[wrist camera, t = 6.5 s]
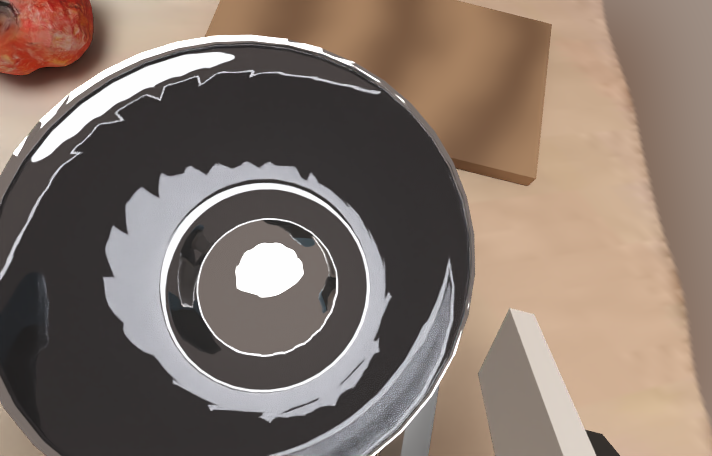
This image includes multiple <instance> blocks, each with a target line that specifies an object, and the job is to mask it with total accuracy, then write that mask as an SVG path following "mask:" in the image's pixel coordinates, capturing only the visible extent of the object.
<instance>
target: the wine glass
mask: <svg viewBox="0 0 712 456" xmlns="http://www.w3.org/2000/svg"><path fill="white" fill-rule="evenodd" d="M474 277H475V253H474V231H473V226H472V221H471V216H470V211H469V206H468V201H467V196H466V194H465V191H464V189H463V186H462V183H461V181H460V178H459V176H458V173H457V170H456V168H455V165H454V163H453V161H452V159H451V158H450V156H449V154H448V152H447V151H446V149H445V147H444V146H443V144H442V142H441V141H440V139H439V137H438V136H437V134H436V132H435V131H434V130H433V129H432V127H431V126H430V125H429V124H428V123H427V121H426V120H425V119H424V118H423V117H422V115H421V114H420V113H419V112H418V111H417V110H416V108H415V107H414V106H413V105H412V104H411V103H410V102H409V101H408V100H407V99H405V98H404V97H403V96H402V95H401V94H400V93H398V92H397V91H396V90H395V89H394V88H393V87H391V86H390V85H389V84H388V83H387V82H386V81H384V80H383V79H381V78H379V77H378V76H376V75H374V74H373V73H371V72H370V71H368V70H366V69H365V68H363V67H362V66H360V65H358V64H357V63H355V62H353V61H351V60H348V59H346V58H344V57H341V56H339V55H337V54H334V53H332V52H329V51H327V50H325V49H322V48H319V47H315V46H311V45H308V44H304V43H300V42H296V41H292V40H289V39H282V38H273V37H264V36H256V35H229V36H210V37H204V38H198V39H192V40H186V41H180V42H175V43H172V44H169V45H165V46H162V47H159V48H156V49H153V50H149V51H146V52H143V53H140V54H138V55H136V56H133V57H131V58H129V59H127V60H125V61H123V62H121V63H119V64H117V65H114V66H112V67H110V68H108V69H106V70H104V71H102V72H101V73H99V74H98V75H96V76H95V77H93V78H92V79H90V80H89V81H87V82H86V83H84V84H83V85H81V86H80V87H78V88H77V89H75V90H74V91H72V92H71V93H70V94H68V95H67V96H66V97H65V98H64V99H63V100H62V101H61V102H60V103H58V104H57V105H56V106H55V107H54V108H53V109H52V110H51V111H50V112H49V113H47V114H46V115H45V116H44V117H43V118H42V119H41V120H40V121H39V122H38V123H37V124H36V126H35V127H34V128H33V129H32V131H31V132H30V133H29V134H28V136H27V137H26V138H25V139H24V140H23V142H22V143H21V144H20V145H19V147H18V148H17V149H16V150H15V152H14V153H13V154H12V156H11V158H10V160H9V161H8V163H7V165H6V167H5V168H4V170H3V172H2V174H1V175H0V402H1V404H2V406H3V408H4V409H5V410H6V411H7V413H8V414H9V415H10V416H11V418H12V419H13V420H14V421H15V423H16V424H17V425H18V426H19V428H20V429H21V430H22V431H23V433H24V434H25V435H26V436H27V438H28V439H29V440H30V441H31V443H32V444H33V445H34V446H35V447H37V448H38V449H39V450H40V451H42V452H43V453H44V454H45V455H46V456H374V455H375V454H376V453H378V452H379V451H380V450H381V449H382V448H383V447H385V446H386V445H387V444H388V443H389V442H391V441H392V440H393V439H394V438H395V437H396V436H398V435H399V434H400V433H401V432H402V431H403V430H404V429H405V428H406V426H407V425H408V424H409V423H410V421H411V420H412V419H413V418H414V417H415V415H416V414H417V413H418V412H419V411H420V409H421V408H422V407H423V406H424V405H425V403H426V402H427V401H428V400H429V398H430V397H431V396H432V395H433V393H434V391H435V389H436V387H437V386H438V384H439V382H440V380H441V379H442V377H443V375H444V373H445V371H446V370H447V368H448V366H449V364H450V363H451V361H452V359H453V357H454V355H455V352H456V349H457V346H458V344H459V341H460V338H461V335H462V332H463V329H464V326H465V324H466V321H467V318H468V315H469V308H470V302H471V296H472V289H473V283H474Z"/></svg>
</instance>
